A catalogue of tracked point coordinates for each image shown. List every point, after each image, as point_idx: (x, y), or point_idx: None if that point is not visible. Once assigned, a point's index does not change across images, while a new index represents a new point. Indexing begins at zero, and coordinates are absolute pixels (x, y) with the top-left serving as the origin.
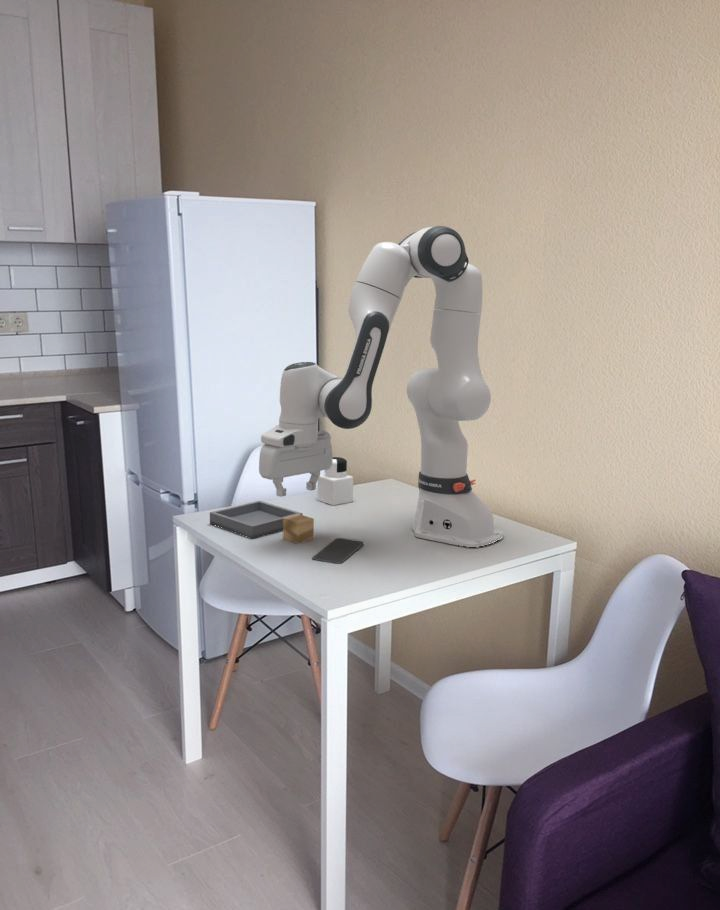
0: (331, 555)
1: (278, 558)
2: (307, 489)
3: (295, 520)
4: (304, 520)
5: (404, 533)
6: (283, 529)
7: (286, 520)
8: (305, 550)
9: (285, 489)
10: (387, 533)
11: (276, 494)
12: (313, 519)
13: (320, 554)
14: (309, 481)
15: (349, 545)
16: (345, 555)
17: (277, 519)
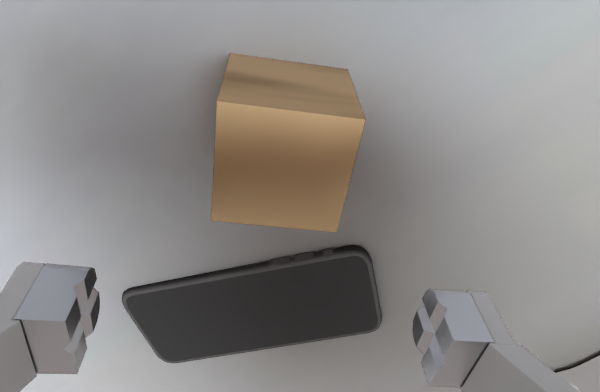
0: (192, 323)
1: (18, 211)
2: (426, 294)
3: (234, 186)
4: (271, 219)
5: (559, 347)
6: (225, 73)
7: (216, 127)
8: (176, 229)
9: (67, 366)
10: (537, 316)
11: (21, 264)
12: (333, 228)
13: (171, 297)
14: (486, 350)
15: (317, 316)
16: (226, 347)
17: None
